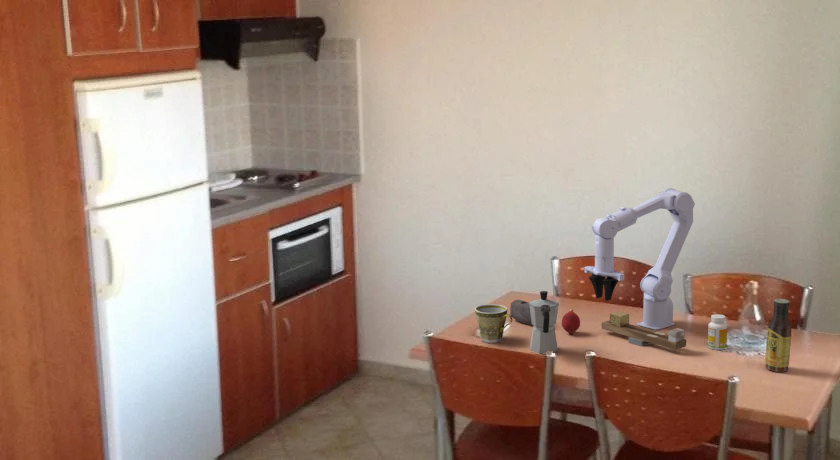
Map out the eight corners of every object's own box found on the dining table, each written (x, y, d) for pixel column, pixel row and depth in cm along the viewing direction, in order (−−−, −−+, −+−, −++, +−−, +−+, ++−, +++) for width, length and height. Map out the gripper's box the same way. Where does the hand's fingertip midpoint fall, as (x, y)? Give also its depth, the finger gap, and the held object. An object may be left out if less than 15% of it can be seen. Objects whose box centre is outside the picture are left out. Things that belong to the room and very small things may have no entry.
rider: (618, 326, 298) (619, 311, 297) (629, 329, 295) (629, 313, 294) (609, 329, 295) (609, 313, 294) (619, 332, 292) (620, 316, 291)
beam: (614, 329, 301) (614, 309, 300) (688, 350, 280) (688, 329, 278) (599, 333, 297) (599, 313, 296) (673, 355, 275) (674, 334, 274)
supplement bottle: (726, 345, 283) (728, 314, 281) (726, 351, 278) (727, 319, 276) (707, 344, 285) (709, 312, 283) (707, 349, 280) (708, 317, 278)
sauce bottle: (760, 366, 265) (764, 297, 261) (782, 364, 266) (786, 296, 262) (771, 374, 259) (775, 303, 255) (793, 372, 259) (797, 302, 255)
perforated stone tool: (552, 327, 304) (552, 307, 303) (540, 331, 301) (540, 310, 300) (520, 317, 316) (520, 297, 315) (508, 320, 313) (508, 300, 312)
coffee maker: (527, 343, 290) (527, 286, 286) (556, 342, 289) (556, 285, 286) (531, 359, 275) (531, 299, 271) (561, 359, 275) (562, 299, 271)
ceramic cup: (468, 340, 294) (468, 309, 292) (489, 332, 301) (488, 302, 299) (501, 348, 285) (501, 316, 283) (521, 340, 292) (521, 309, 290)
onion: (579, 337, 294) (580, 312, 293) (561, 336, 295) (561, 311, 294) (580, 331, 300) (580, 307, 298) (562, 330, 301) (562, 306, 299)
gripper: (578, 254, 299) (577, 296, 301) (613, 262, 287) (613, 305, 290) (593, 251, 303) (592, 292, 306) (629, 258, 292) (628, 301, 294)
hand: (603, 298), depth 298 cm, fingers open, 3 cm apart
